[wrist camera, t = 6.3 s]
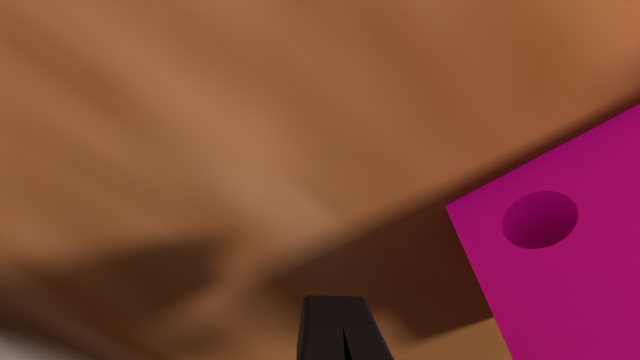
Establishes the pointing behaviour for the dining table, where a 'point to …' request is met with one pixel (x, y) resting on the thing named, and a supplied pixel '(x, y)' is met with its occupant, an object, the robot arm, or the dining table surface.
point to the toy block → (563, 247)
